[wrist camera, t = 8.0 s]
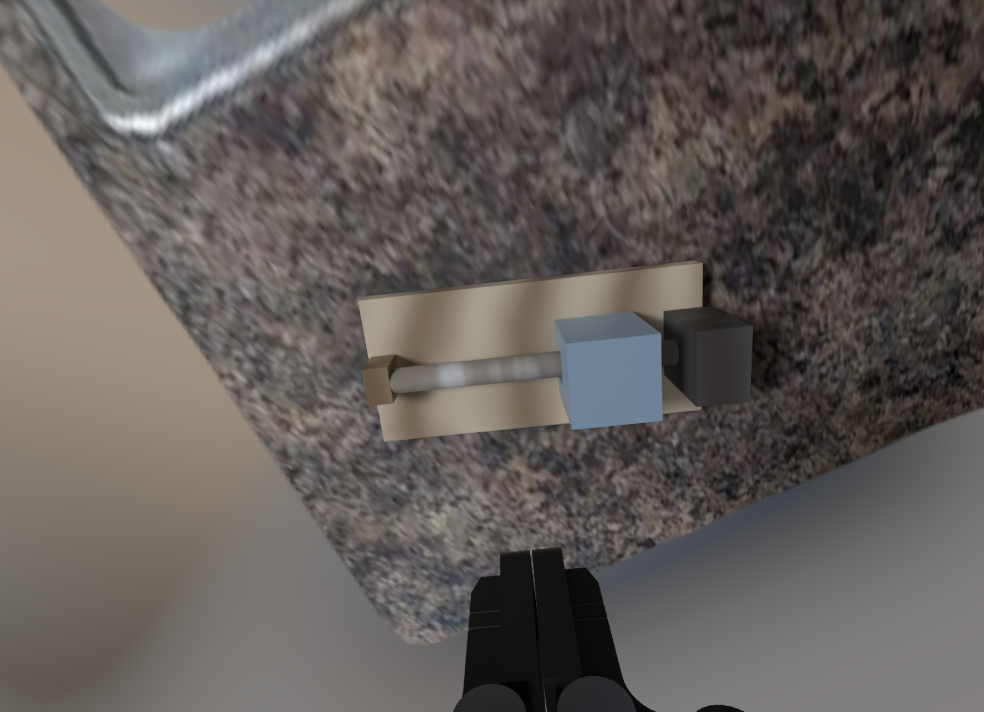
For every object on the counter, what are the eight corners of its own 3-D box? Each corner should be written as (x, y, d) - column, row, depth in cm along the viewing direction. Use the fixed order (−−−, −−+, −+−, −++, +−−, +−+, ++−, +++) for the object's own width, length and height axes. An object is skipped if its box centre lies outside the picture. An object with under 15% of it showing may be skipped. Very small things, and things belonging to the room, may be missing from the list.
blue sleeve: (632, 311, 32) (661, 333, 27) (634, 385, 34) (662, 420, 28) (553, 319, 32) (566, 343, 27) (559, 392, 34) (572, 429, 28)
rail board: (701, 259, 33) (755, 273, 26) (700, 400, 36) (748, 446, 29) (363, 296, 34) (331, 319, 27) (388, 432, 37) (365, 483, 30)
